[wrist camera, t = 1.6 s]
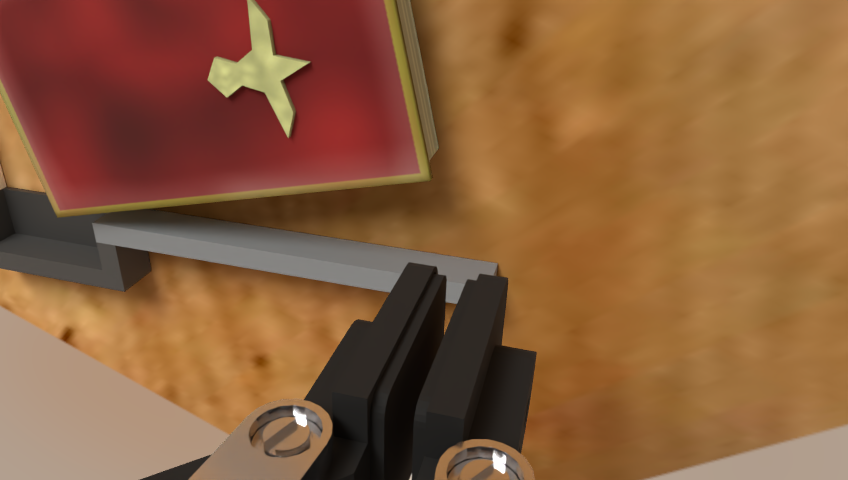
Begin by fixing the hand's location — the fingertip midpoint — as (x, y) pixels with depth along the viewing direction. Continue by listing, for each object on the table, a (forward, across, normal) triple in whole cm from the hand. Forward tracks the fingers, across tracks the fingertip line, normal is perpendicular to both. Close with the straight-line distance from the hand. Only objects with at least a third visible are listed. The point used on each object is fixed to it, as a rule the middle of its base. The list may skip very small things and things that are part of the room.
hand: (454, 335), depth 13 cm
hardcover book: (+20, +16, 0) cm, 25 cm away
